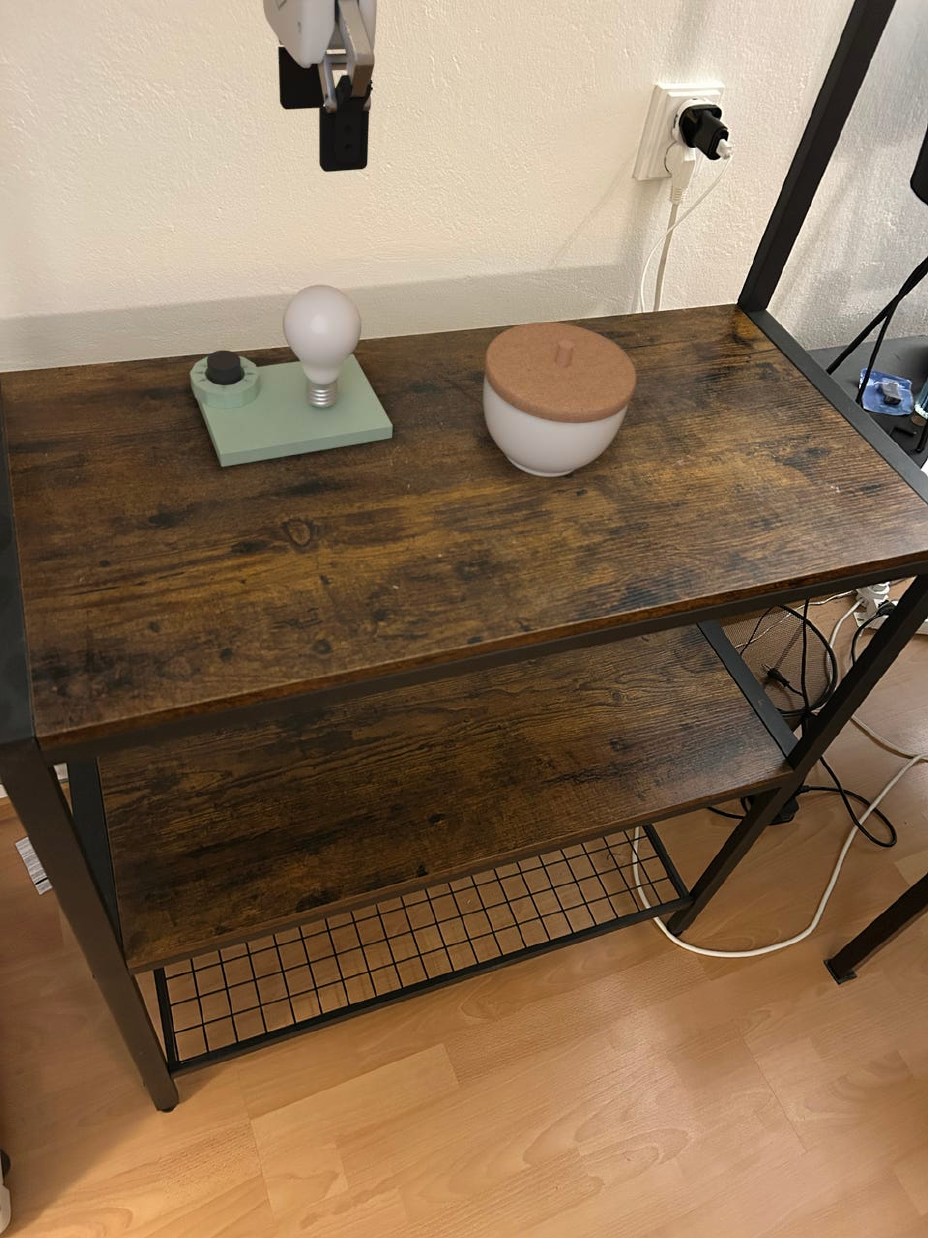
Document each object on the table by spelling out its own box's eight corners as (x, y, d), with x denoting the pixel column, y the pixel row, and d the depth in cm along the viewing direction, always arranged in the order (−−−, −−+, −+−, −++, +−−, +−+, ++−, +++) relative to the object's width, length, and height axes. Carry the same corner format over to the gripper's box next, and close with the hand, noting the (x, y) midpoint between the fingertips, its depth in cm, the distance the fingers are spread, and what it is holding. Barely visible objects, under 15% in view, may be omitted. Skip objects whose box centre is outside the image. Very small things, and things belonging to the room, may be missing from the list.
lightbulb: (318, 372, 88) (318, 260, 80) (372, 403, 86) (378, 291, 78) (269, 403, 84) (264, 289, 76) (325, 436, 82) (326, 322, 74)
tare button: (212, 388, 83) (210, 371, 82) (205, 369, 85) (203, 352, 83) (245, 383, 84) (243, 366, 82) (237, 365, 85) (236, 348, 84)
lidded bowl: (454, 414, 89) (468, 306, 80) (580, 400, 92) (606, 295, 84) (499, 507, 81) (520, 398, 73) (635, 488, 85) (669, 382, 76)
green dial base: (217, 467, 80) (214, 439, 78) (188, 387, 87) (184, 358, 85) (392, 438, 85) (393, 410, 83) (351, 364, 92) (352, 336, 90)
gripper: (220, -212, 59) (238, 88, 72) (300, -131, 49) (304, 200, 62) (339, -205, 61) (336, 83, 74) (438, -126, 51) (414, 190, 64)
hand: (322, 136), depth 68 cm, fingers open, 9 cm apart
